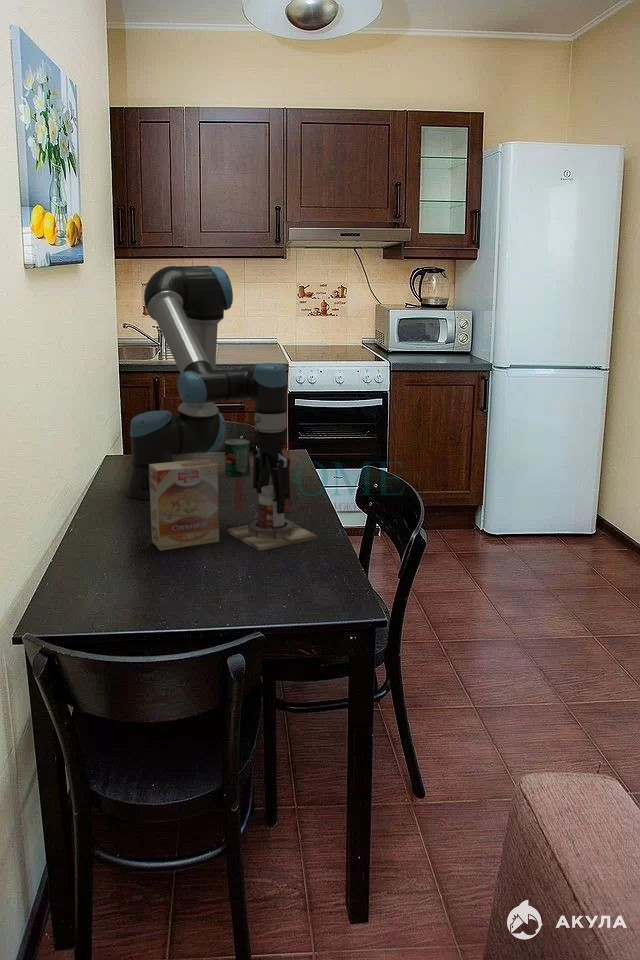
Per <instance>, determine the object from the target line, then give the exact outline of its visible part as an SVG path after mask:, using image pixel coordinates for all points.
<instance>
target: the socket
mask: <svg viewBox="0 0 640 960" xmlns="http://www.w3.org/2000/svg"><path fill="white" fill-rule="evenodd" d="M227 534H229V535H231V536H233V538H236V539H237V540H239V541H240V542H243V543H245V544H246V545H248V546H250V547H252V548H254V549H255V550H257V551H258V552H262V551H267V550H271V549H276V548H281V547H285V546H290V545H295V544H300V543H305V542H309V541H316V540H317V537H318V536H317V534H315V533H313V532H312V531H311V532H310V531H308V530H307V529H305V528H302V527H301V526H300V525H296V523H295V522H294V521H292V520H289V519H288V518H285V517H284V528H279V529H261V528H259V527H258V519H257V518H256V519H254V520H251V521H250V523H249V524H247V525H242V526H237V527H230V528H227Z"/></svg>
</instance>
